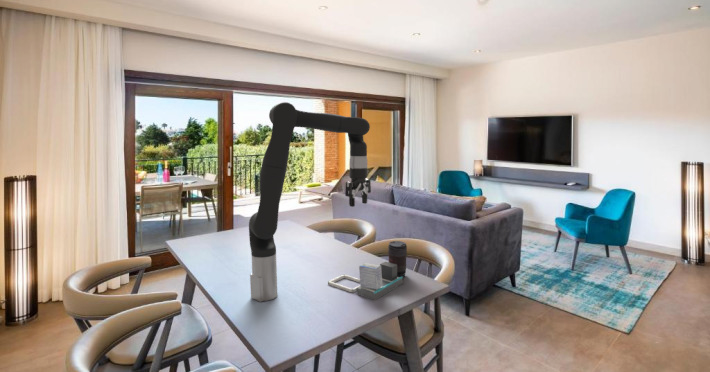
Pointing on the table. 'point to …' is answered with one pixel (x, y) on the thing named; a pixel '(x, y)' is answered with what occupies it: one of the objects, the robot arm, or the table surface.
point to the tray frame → (344, 286)
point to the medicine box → (370, 276)
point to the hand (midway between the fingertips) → (358, 204)
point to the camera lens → (398, 256)
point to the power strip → (383, 282)
